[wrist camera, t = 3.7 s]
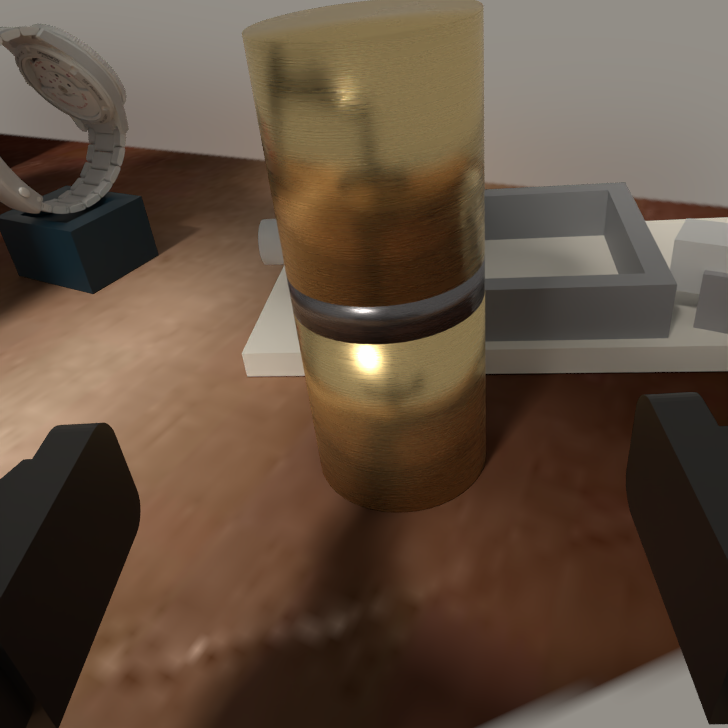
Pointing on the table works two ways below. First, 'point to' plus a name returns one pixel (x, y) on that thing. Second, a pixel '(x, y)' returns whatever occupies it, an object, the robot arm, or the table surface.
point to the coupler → (382, 235)
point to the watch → (90, 192)
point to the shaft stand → (567, 288)
